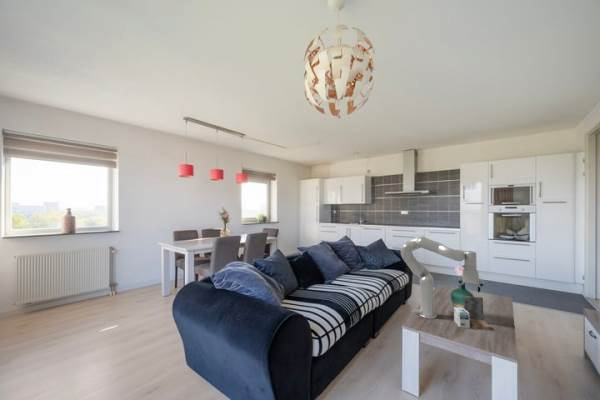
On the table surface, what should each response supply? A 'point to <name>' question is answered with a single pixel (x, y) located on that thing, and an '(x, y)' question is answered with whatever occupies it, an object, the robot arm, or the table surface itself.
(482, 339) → the table surface
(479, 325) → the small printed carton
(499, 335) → the table surface
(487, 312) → the table surface
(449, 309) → the table surface
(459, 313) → the light bulb box
